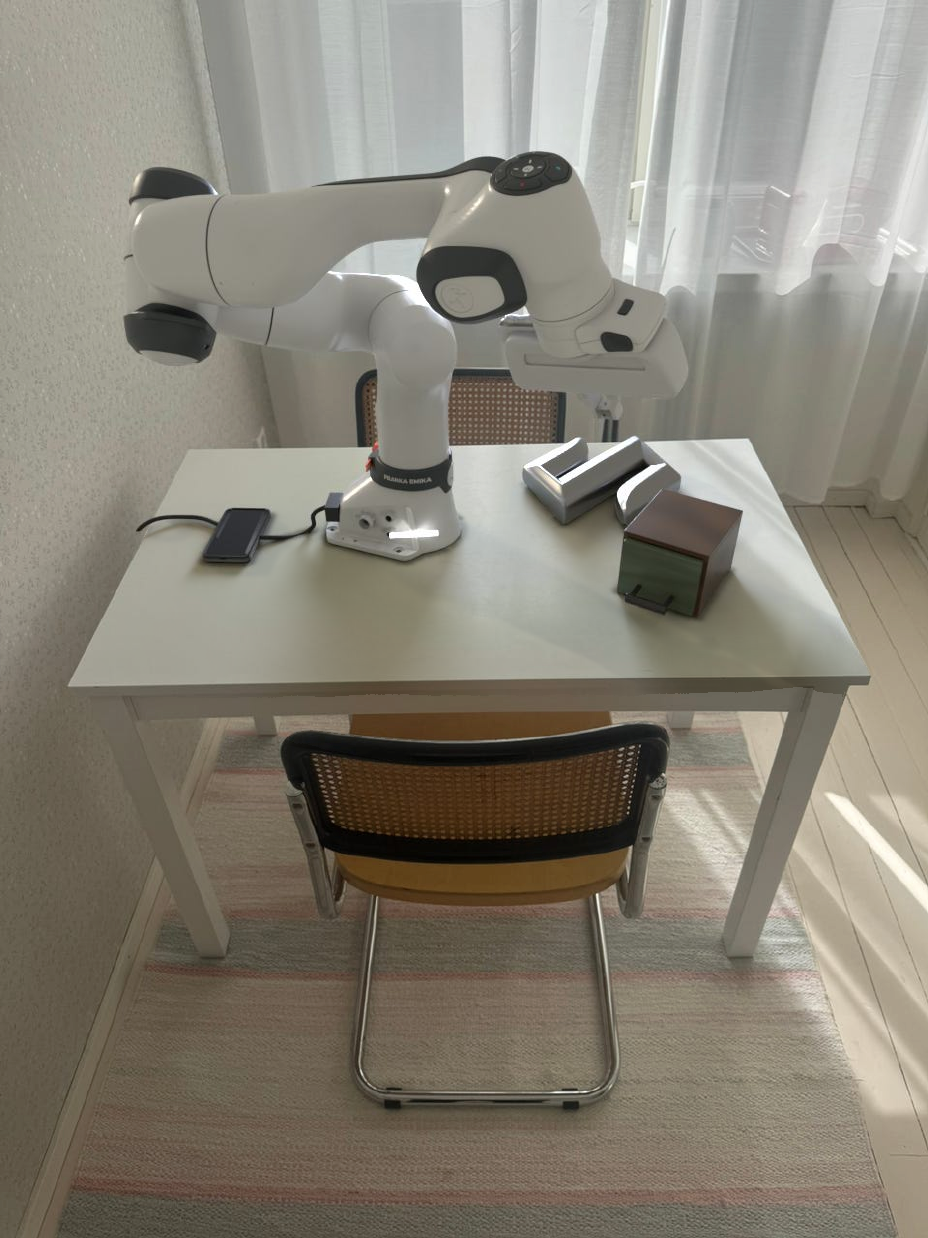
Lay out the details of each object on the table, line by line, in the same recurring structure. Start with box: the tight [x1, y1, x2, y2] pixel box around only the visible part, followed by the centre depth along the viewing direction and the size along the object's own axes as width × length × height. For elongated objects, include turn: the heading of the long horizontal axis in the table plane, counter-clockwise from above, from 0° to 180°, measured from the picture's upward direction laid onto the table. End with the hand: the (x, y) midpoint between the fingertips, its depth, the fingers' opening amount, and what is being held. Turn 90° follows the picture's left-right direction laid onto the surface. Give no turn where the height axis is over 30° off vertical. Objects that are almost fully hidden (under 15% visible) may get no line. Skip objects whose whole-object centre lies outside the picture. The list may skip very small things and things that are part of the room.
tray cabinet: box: [616, 489, 744, 618], centre depth 124 cm, size 14×13×11 cm
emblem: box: [521, 435, 682, 527], centre depth 148 cm, size 28×5×28 cm
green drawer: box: [617, 537, 704, 617], centre depth 121 cm, size 17×11×9 cm, turn 147°
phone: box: [201, 507, 272, 564], centre depth 139 cm, size 8×1×15 cm
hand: (609, 415), depth 96 cm, fingers closed
